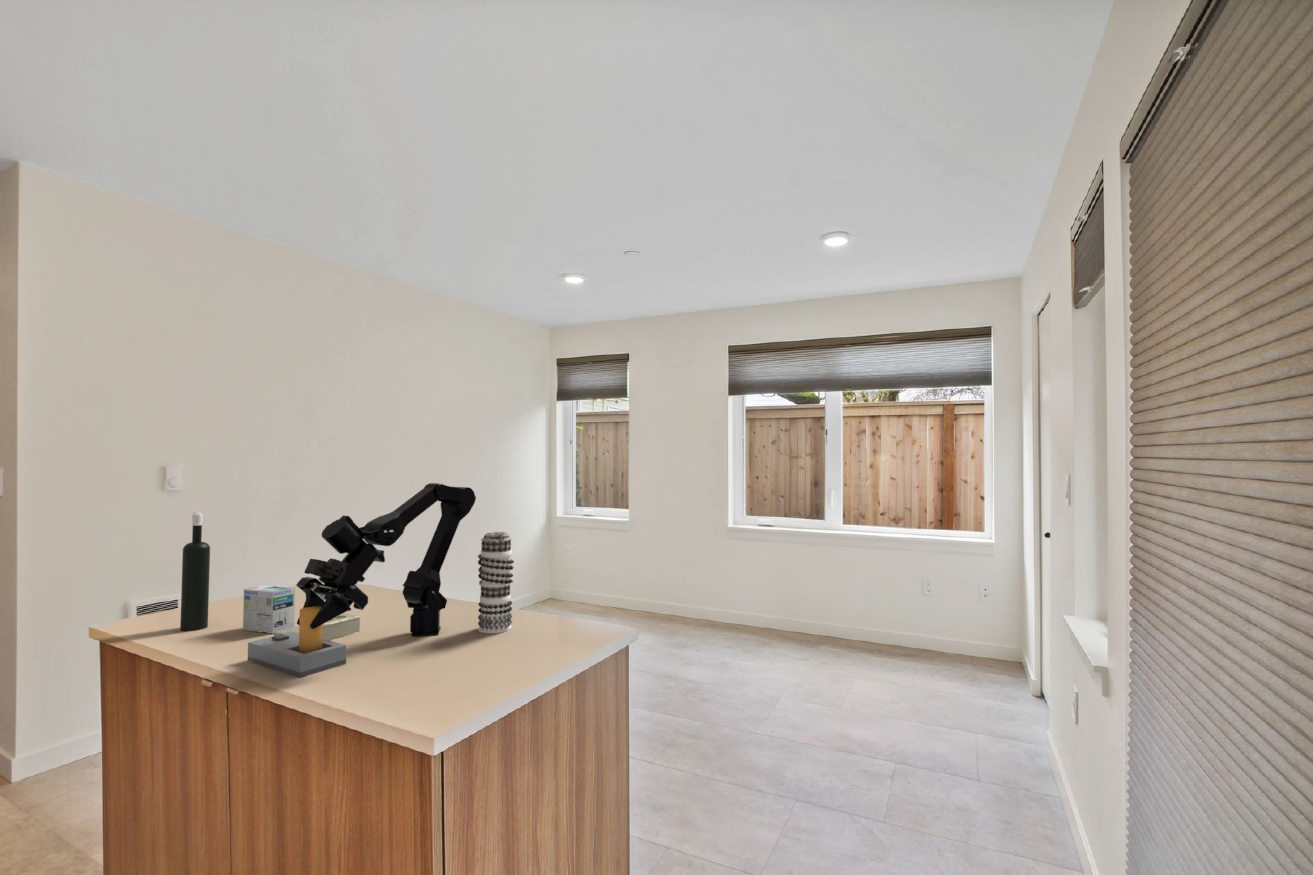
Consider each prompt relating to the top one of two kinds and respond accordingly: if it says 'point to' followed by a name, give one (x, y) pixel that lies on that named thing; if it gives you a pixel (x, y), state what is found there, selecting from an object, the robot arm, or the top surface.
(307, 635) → the orange cylinder
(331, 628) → the electrical outlet
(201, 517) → the wine bottle
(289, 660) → the grey block with pocket
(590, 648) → the top surface
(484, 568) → the decorative candle
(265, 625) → the light bulb box
